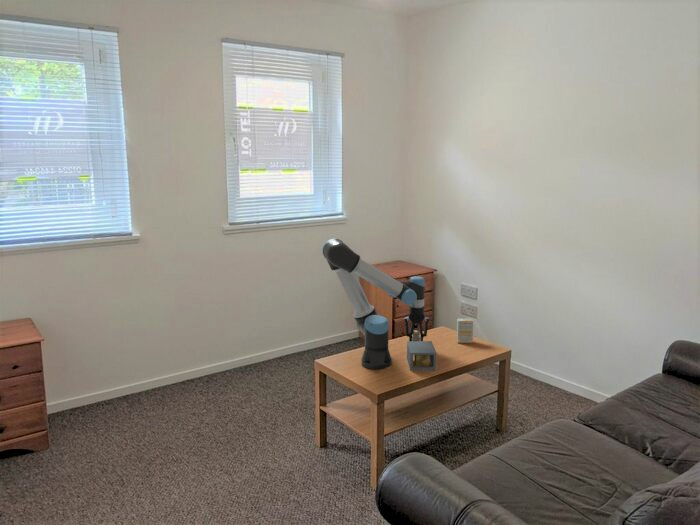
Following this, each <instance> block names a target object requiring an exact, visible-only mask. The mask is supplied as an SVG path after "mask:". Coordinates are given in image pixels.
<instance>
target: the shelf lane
mask: <svg viewBox="0 0 700 525" xmlns="http://www.w3.org/2000/svg"><path fill="white" fill-rule="evenodd" d="M415 355H429V359H428V361H429V362H430V366H429V365H428V366H424V367H416V366H414V356H415ZM406 360H407V363H408V368H409V370H410V371H411V372H413V371H437V351H436V347H435V345H434V344H433V342H432V341H431V340H430V341H429V340H425V341H424V340H423V341H409V340H407V341H406Z"/></svg>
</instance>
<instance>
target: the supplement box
mask: <svg viewBox="0 0 700 525" xmlns="http://www.w3.org/2000/svg"><path fill="white" fill-rule="evenodd" d="M456 323H457V324H456V342H457V344H470V345H471V344H472V345H473V343H474V342H473V341H474V340H473V339H474V338H473V335H474V320H473V318H467V317H466V318H461V317H460V318H459V317H458V318H457V321H456Z"/></svg>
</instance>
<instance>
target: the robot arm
mask: <svg viewBox="0 0 700 525" xmlns="http://www.w3.org/2000/svg"><path fill="white" fill-rule="evenodd" d="M322 256H323V257H324V259H326V262H327V263H328V266H329V268H330V269H331V271H333V272H335V274H336V275H337V278H338V280H339V281H340V284H341V287H343V288H342V289H343V290H344V292H345V294H346V297H347V299H348V301H349V303H350V306H351V307H352V309H353V311H354V312H353V318H354V320H355V323H356V327H357V328H358V330H359V331H360V332H361V333H362V334H363V336H364V350H363V353H362V356H361V358H360V359H361V365H362V367H365V369H370V370H383V369H388V368H389V367H392V364H393V359H392V356H391V352H390V350H389V328H390V325H389V320H388V318H387V317H385V316H382V315H381V314H380V315H379V314H378V312H377V310H376V308H375V306H374V305H372V304H370V302H369V300H368V298H367V295H366V294H365V291H364V289H363V287H362V285H361V283H360V281H359V279H358V277H360V278H362V279H363V280H365V281H367V282H368V283H370V284H372V285H373V286H376V287H377V288H379V289H381V290H383V292H385V293H386V294H387V295H388V297H389V298H390V297H391V298H395V299H398V300H399V301H401V302H402V303H403V304H405V305H406V306H409V313H408V314H409V315H408V316H406V317H403V320H404V322H405V324H404V326H405V336H406V337H408V341H413V331H414V328H415V325H416V324H418V328H419V329H418V330H419V331H420V335H419V341H424V337H427V336H428V326H429V321H430V318H429V317H428V316H427V317H426V316H425V291H426V284H425V283H426V281H425V278H424V277H422V276H419V275H417V276H411V277H410V280H409V281H398V280H397V279H395V278H394V277H392V276H390V275H388V274H387V273H385V272H383V271H382V270H380V269H378V268H377V267H375V266H373V265H372V264H370V263H368V262H366V261H365V260H363V259H362V256H360V255H359V254H358V253H356V252H355V251H353V249H351V248H350V247H349V245H347V243H344V241H343V240H341V239H339V238H331V239H329V240H327V241H326V242H324V244H323V247H322ZM409 320H410V322H411V325H410V328H409ZM422 322H424V329H423V326H422ZM409 329H410V330H409Z"/></svg>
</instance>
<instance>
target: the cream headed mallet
mask: <svg viewBox="0 0 700 525" xmlns="http://www.w3.org/2000/svg"><path fill="white" fill-rule="evenodd" d="M412 336H413V341H419V336H421V335H420V330H413V334H412ZM413 363H414V364H415V367H424V366H429V355H414V359H413Z"/></svg>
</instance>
